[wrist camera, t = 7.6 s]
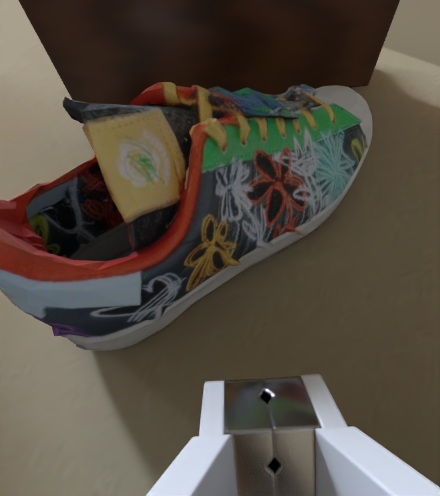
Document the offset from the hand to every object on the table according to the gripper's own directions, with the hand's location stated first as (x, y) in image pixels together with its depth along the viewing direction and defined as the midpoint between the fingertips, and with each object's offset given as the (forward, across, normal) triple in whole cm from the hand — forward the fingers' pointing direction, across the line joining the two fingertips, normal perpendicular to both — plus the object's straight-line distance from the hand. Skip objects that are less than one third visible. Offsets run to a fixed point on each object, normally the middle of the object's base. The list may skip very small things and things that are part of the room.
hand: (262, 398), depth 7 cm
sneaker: (+11, 0, +3) cm, 12 cm away
